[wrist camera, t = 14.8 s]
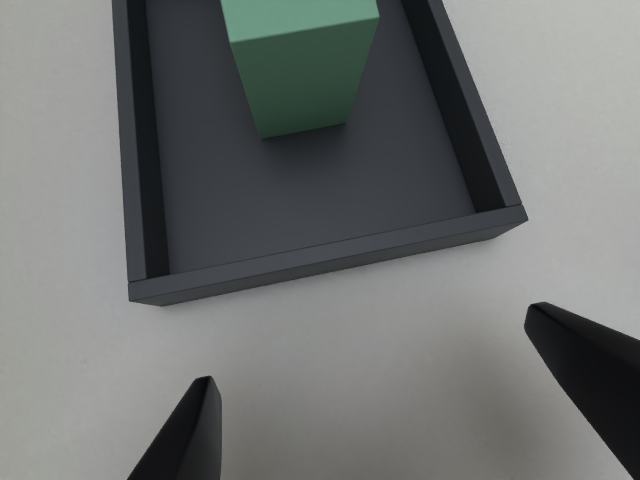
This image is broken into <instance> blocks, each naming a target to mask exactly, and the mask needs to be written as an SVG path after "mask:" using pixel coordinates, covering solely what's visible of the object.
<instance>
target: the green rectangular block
mask: <svg viewBox="0 0 640 480" xmlns="http://www.w3.org/2000/svg"><path fill="white" fill-rule="evenodd" d="M220 1H221V5H222V10H223V15H224V19H225V24H226V29H227V33H228V38H229V42H230V46H231V49H232V52H233V55H234V58H235V61H236V64H237V68H238V71H239V74H240V77H241V80H242V83H243V86H244V90H245V93H246V96H247V99H248V102H249V105H250V108H251V112H252V115H253V118H254V121H255V124H256V127H257V130H258V133H259V137H260V139H265V138H270V137H275V136H281V135H286V134H291V133H296V132H301V131H306V130H311V129H317V128H322V127H327V126H332V125H337V124H342V123H346V122H347V120H348V117H349V114H350V110H351V107H352V104H353V101H354V98H355V94H356V91H357V88H358V85H359V82H360V78H361V75H362V72H363V69H364V65H365V62H366V59H367V56H368V53H369V49H370V46H371V43H372V40H373V37H374V33H375V30H376V27H377V24H378V20H379V17H380V16H379V12H378V8H377V4H376V0H220Z"/></svg>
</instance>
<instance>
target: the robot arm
mask: <svg viewBox="0 0 640 480" xmlns="http://www.w3.org/2000/svg"><path fill="white" fill-rule="evenodd" d="M524 329H525V332H526V334H527V336H528V337H529V339H530V340H531V342H532V343H533V345H534V347H535V348H536V350H537V351H538V353H539V354H540V356H541V357H542V359H543V361H544V362H545V364H546V365H547V367H548V368H549V370H550V371H551V373H552V375H553V376H554V377H555V379H556V380H557V382H558V383H559V385H560V386H561V387H562V389H563V390H564V391H565V392H566V394H567V395H568V396H569V398H570V399H571V400H572V401H573V403H574V404H575V405H576V407H577V408H578V409H579V410H580V412H581V413H582V414H583V415H584V417H585V418H586V419H587V421H588V422H589V423H590V424H591V426H592V427H593V428H594V429H595V431H596V432H597V433H598V435H599V436H600V437H601V438H602V440H603V441H604V442H605V444H606V445H607V446H608V447H609V449H610V450H611V451H612V452H613V454H614V455H615V456H616V458H617V459H618V460H619V461H620V463H621V464H622V465H623V466H624V468H625V469H626V470H627V472H628V473H629V474H630V475H631V477H632V478H633V479H634V480H640V340H638V339H635V338H633V337H630V336H628V335H625V334H623V333H621V332H618V331H616V330H613V329H611V328H608V327H606V326H603V325H601V324H599V323H596V322H594V321H591V320H589V319H586V318H584V317H581V316H579V315H577V314H574V313H572V312H569V311H567V310H564V309H562V308H559V307H557V306H555V305H552V304H550V303H547V302H540V303H535V304H531V305H530V306H529V307H528V310H527V315H526V319H525V323H524ZM221 460H222V400H221V395H220V392H219V390H218V388H217V386H216V384H215V381H214V379H213V378H212V376H205V377H200V378H197V379H195V380H194V381H193V383H192V384H191V386H190V387H189V389H188V390H187V392H186V393H185V394H184V396H183V397H182V399H181V400H180V402H179V403H178V405H177V406H176V408H175V409H174V411H173V412H172V414H171V415H170V417H169V418H168V420H167V421H166V422H165V424H164V425H163V427H162V428H161V430H160V431H159V433H158V434H157V436H156V437H155V439H154V440H153V442H152V443H151V445H150V446H149V448H148V449H147V451H146V452H145V453H144V455H143V456H142V458H141V459H140V461H139V462H138V464H137V465H136V467H135V468H134V470H133V471H132V473H131V474H130V476H129V477H128V479H127V480H220V475H221Z"/></svg>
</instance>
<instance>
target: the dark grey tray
mask: <svg viewBox="0 0 640 480" xmlns="http://www.w3.org/2000/svg"><path fill="white" fill-rule="evenodd" d="M376 4H377V8H378V12H379V16H380V17H379V20H378V24H377V27H376V30H375V33H374V37H373V40H372V43H371V46H370V49H369V53H368V56H367V59H366V62H365V65H364V69H363V72H362V75H361V78H360V82H359V85H358V88H357V91H356V94H355V98H354V101H353V104H352V107H351V110H350V114H349V117H348V120H347V122H346V123H342V124H337V125H332V126H327V127H322V128H317V129H311V130H306V131H301V132H296V133H291V134H286V135H281V136H275V137H270V138H265V139H260V137H259V133H258V130H257V127H256V124H255V121H254V118H253V115H252V112H251V108H250V105H249V102H248V99H247V96H246V93H245V90H244V86H243V83H242V80H241V77H240V74H239V71H238V68H237V64H236V61H235V58H234V55H233V52H232V49H231V46H230V42H229V38H228V33H227V29H226V24H225V19H224V15H223V10H222V5H221V1H220V0H112V13H113V30H114V48H115V66H116V83H117V101H118V118H119V136H120V153H121V171H122V188H123V206H124V223H125V241H126V258H127V276H128V282H129V283H128V295H129V301H130V302H136V303H142V304H149V305H155V306H161V307H162V306H167V305H172V304H177V303H182V302H187V301H192V300H196V299H201V298H206V297H211V296H216V295H221V294H226V293H230V292H235V291H240V290H245V289H250V288H255V287H260V286H264V285H269V284H274V283H279V282H284V281H289V280H294V279H298V278H303V277H308V276H313V275H318V274H323V273H328V272H332V271H337V270H342V269H347V268H352V267H357V266H362V265H366V264H371V263H376V262H381V261H386V260H391V259H396V258H400V257H405V256H410V255H415V254H420V253H425V252H430V251H434V250H439V249H444V248H449V247H454V246H459V245H464V244H469V243H473V242H478V241H483V240H488V239H493V238H495V237H497V236H499V235H501V234H503V233H505V232H507V231H509V230H511V229H513V228H515V227H517V226H518V225H520V224H522V223H524V222H526V221H528V217H527V214H526V212H525V209H524V207H523V205H521V204H522V202H521V199H520V197H519V194H518V192H517V189H516V187H515V184H514V182H513V179H512V177H511V174H510V172H509V169H508V166H507V164H506V161H505V159H504V156H503V154H502V151H501V149H500V146H499V144H498V141H497V139H496V136H495V134H494V131H493V129H492V126H491V124H490V121H489V119H488V116H487V114H486V111H485V108H484V106H483V103H482V101H481V98H480V96H479V93H478V91H477V88H476V86H475V83H474V81H473V78H472V76H471V73H470V71H469V68H468V66H467V63H466V61H465V58H464V55H463V53H462V50H461V48H460V45H459V43H458V40H457V38H456V35H455V33H454V30H453V28H452V25H451V23H450V20H449V18H448V15H447V13H446V10H445V8H444V5H443V3H442V0H376Z"/></svg>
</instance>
